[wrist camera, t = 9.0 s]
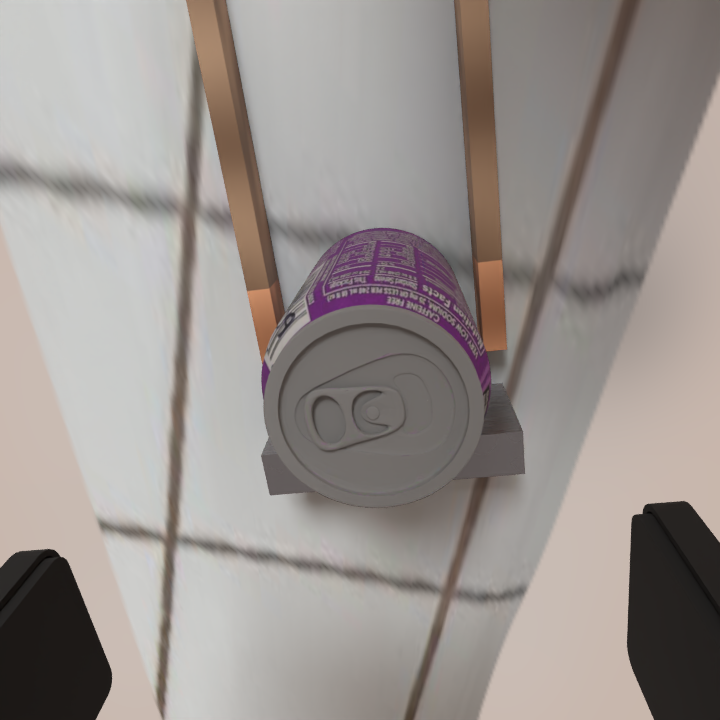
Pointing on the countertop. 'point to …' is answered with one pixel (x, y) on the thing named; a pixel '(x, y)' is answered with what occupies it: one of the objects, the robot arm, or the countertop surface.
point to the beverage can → (377, 373)
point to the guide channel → (237, 158)
